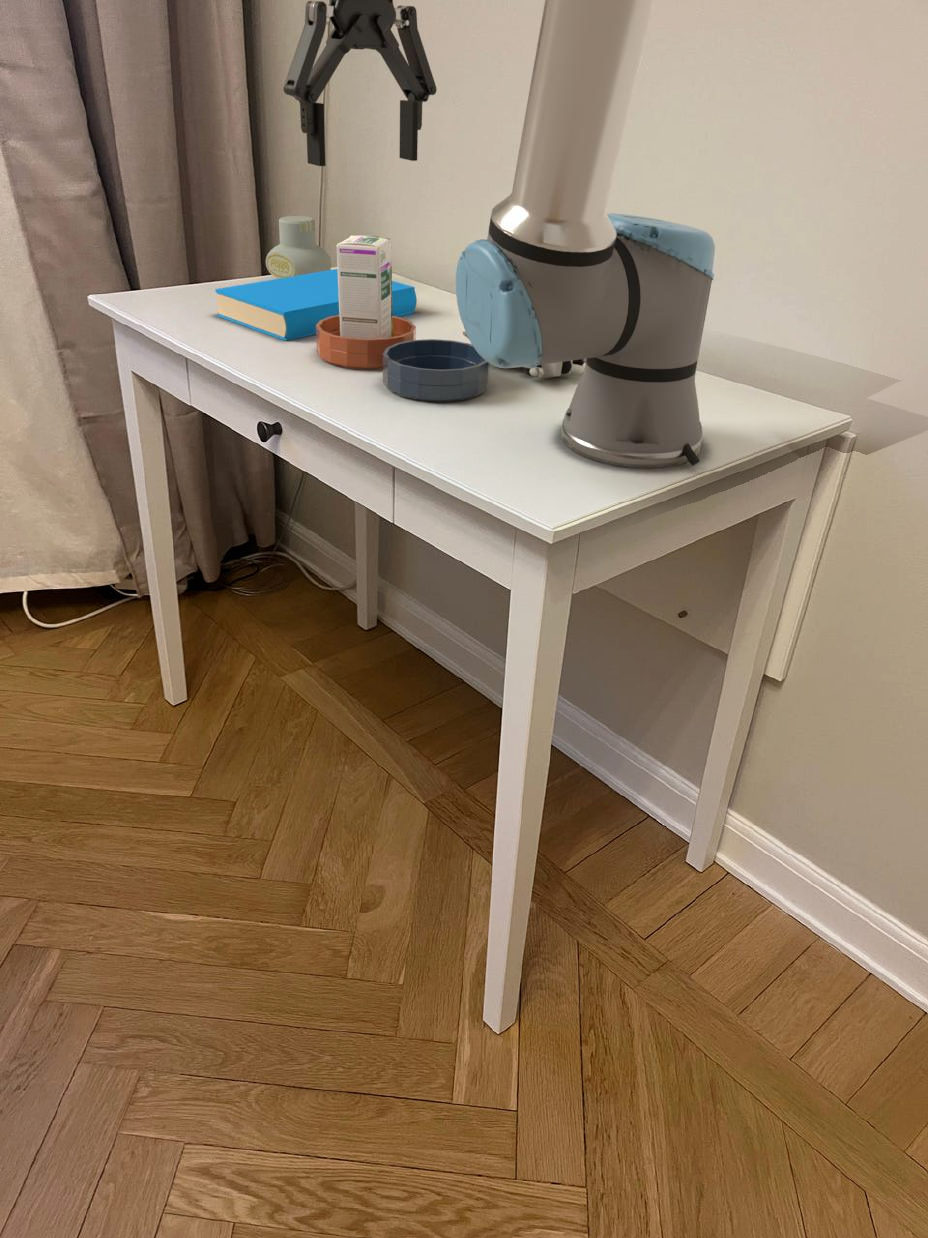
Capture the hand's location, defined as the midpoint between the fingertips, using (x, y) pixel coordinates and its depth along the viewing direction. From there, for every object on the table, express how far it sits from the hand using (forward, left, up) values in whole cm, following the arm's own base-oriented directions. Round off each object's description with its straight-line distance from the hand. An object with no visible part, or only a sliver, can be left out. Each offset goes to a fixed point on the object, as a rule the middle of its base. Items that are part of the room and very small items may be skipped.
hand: (363, 162), depth 120 cm
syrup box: (0, 0, -24) cm, 24 cm away
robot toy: (-16, -15, -24) cm, 33 cm away
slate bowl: (-15, 0, -24) cm, 28 cm away
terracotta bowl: (0, 0, -24) cm, 24 cm away
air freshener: (+41, -15, -24) cm, 50 cm away
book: (+21, -6, -24) cm, 32 cm away
